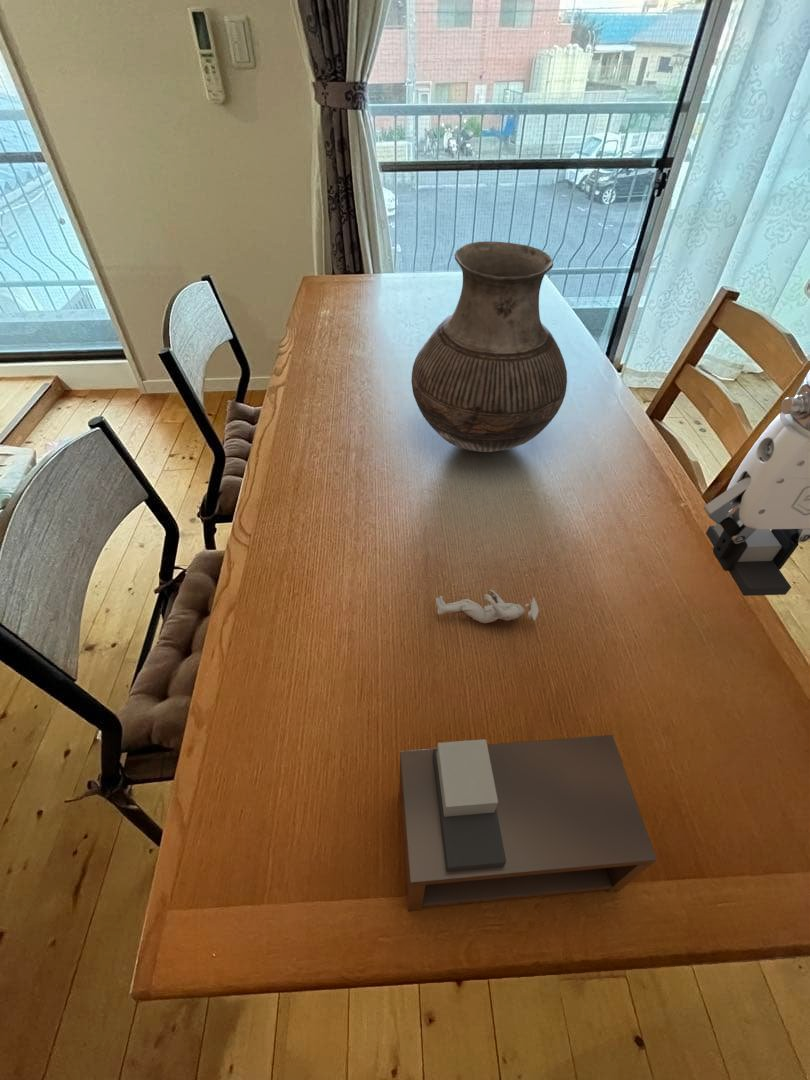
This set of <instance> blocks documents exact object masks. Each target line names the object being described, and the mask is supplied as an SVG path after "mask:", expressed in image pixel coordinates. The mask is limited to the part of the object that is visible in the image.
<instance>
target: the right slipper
mask: <svg viewBox="0 0 810 1080" xmlns="http://www.w3.org/2000/svg"><path fill="white" fill-rule="evenodd" d="M737 523H738V524H739V526H740V527H741V526H742V524H743V522H742V521H741V519H740V520H739V521H738V522H737ZM723 531H724V529H723V527H722V526H721V525H720V524H718V523H716V524H715V525H709V527H708V528H707V530H706V532H705V535H706V536H707V538H708V540H709V541H710V543H711V544H712V545H711V546H713V547H714V546H715V544H716V542H717V541H718V539H719V537H720V536H721V534H722V532H723ZM745 541H746V543H747V548H746V550H745V551H744V553H743V554H742V556H741V557H740V559H739V560H738V562H737V563H736V565H735V566H734V568H733V569H732V570H731V571H728V573H729V575H730V576H731V578H732V579H733V581H734V582H735V584H736V586H737V588H738V589H739V591H740V592H741V594H742V596H743V597H750V596H751V597H752V596H753V597H754V596H785V595H787V594H788V593H789V592H790V590H791V589H792V586H791V585H790V583H789V582H788V580H787V579H786V577H785V576H784V574H783V572H782V571H781V569H780V570H779V569H778V567H777V566H776V564H775V563H774V562H773V559H774V557H775V556H776V554H777V553H778V552H779V550H780V549H781V547H782V546H781V545H780V543H779V542H778V540H777V539H776V538H775V536H774V535H773V533H772V532H771V529H756V530H755V531H754V532H753V533H752V534H751V535H750V536H749V537H748V538H747V539H746V540H745Z"/></svg>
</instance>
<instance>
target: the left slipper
mask: <svg viewBox="0 0 810 1080" xmlns="http://www.w3.org/2000/svg"><path fill="white" fill-rule="evenodd" d="M487 745H488V742H487V739H486V738H485V739H471V740H458V741H446V742H438V743H437V745H436V746H437V747H436V748H437V749H436V748H432V749H433V761H434V770H435V778H436V786H437V795H438V803H439V811H440V820H441V828H442V836H443V845H444V853H445V862H446V870H447V871H448V872H450V871H461V870H471V869H482V868H493V867H503V866H504V865H505V863H506V858H505V853H504V848H503V842H502V837H501V832H500V826H499V821H498V815H497V810H496V807H497V804H498V799H497V794H496V788H495V783H494V778H493V773H492V767H491V762H490V757H489V752H488V746H487Z"/></svg>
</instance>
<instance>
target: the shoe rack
mask: <svg viewBox="0 0 810 1080" xmlns="http://www.w3.org/2000/svg"><path fill="white" fill-rule="evenodd" d="M487 746H488V752H489V757H490V762H491V767H492V773H493V778H494V783H495V788H496V794H497V799H498V804H497V807H496V810H497V815H498V821H499V826H500V832H501V837H502V842H503V848H504V853H505V858H506V863H505V865H504V866H503V867H493V868H482V869H471V870H461V871H450V872H448V871H447V870H446V862H445V853H444V845H443V836H442V828H441V820H440V811H439V803H438V795H437V786H436V778H435V770H434V761H433V749H434V748H424V749H411V750H400V751H399V791H398V792H399V806H400V807H399V810H400V820H401V822H400V823H401V835H402V850H403V861H404V874H405V875H404V876H405V890H406V902H407V904H406V905H407V912H417V911H418V912H419V911H422V909H423V908H428V907H438V906H449V905H450V906H451V905H459V904H469V903H478V902H491V901H500V900H501V901H502V900H510V899H511V900H512V899H521V898H522V899H523V898H531V897H543V896H551V895H552V896H553V895H563V894H574V893H575V894H576V893H584V892H593V891H594V892H596V891H603V890H604V891H606V893H614V892H620V891H621V890H623V889H624V888H625V887H626V886H627V885H629V883H632V881H633V880H634V879H636V878H637V877H638V876H640V875H641V874H642V873H643V872H644V871H646V870H647V869H648V868H649V867H650V866H652V865H653V864H654V863H655V862H657V860H658V858H657V856H656V854H655V851H654V847H653V845H652V841H651V839H650V836H649V833H648V831H647V828H646V824H645V822H644V819H643V816H642V814H641V810H640V808H639V805H638V802H637V799H636V797H635V794H634V791H633V788H632V786H631V783H630V780H629V777H628V775H627V772H626V768H625V766H624V763H623V761H622V757H621V755H620V751H619V749H618V746H617V743H616V740H615V738H614V735H613V734H605V735H594V736H593V735H591V736H579V737H568V738H554V739H542V740H540V739H539V740H528V741H527V740H526V741H516V742H514V741H513V742H502V743H489V744H488V743H487ZM435 749H437V747H436V748H435Z"/></svg>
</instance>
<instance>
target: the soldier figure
mask: <svg viewBox="0 0 810 1080" xmlns="http://www.w3.org/2000/svg"><path fill="white" fill-rule="evenodd" d="M489 592H491V593H493V594H491V595H490V594H488V593H485V594H484V600H487V601H488V602H489V603H490V604H487V605H483V607H484V608H483V607H482V606H481V605H480V604H479V603H477V602H476V601H474V600H471V599H469V598H465V599H464V598H463V599H460V600H457V601H454V602H449V603H447V602H445V601H444V597H443V595H439V597H436V599H435V606H436V607H437V615H438V616H440V615H444V614H453V613H459V612H463V613H464V614H465V615H466V616H468V617H470V618H472V619H473V620H474V621H477V622H479V623H482V624H487V623H493V622H496V621H497V620H498V619H499V620H502V621H507V622H508V621H510V620H511V621H512V620H517V619H518V618H519V617H521V616H523V614H525V618H526V619H527V620H531V619H532V620H533V622H536V620H537V618H538V616H539V613H540V608H539V605H538V603H537V600H536V599H535V597H533V598H532V600H531V603H525V608H524V607H523V606H522V604H520V603H513V602H505V601H504V600H503V598H501V596H500V595H499V594H498V593H497V592H496V591H495V590H493V589H489ZM493 597H494V598H496V601H495V600H494V598H493ZM527 607H529V611H528V612H526V608H527ZM527 614H528V616H527Z"/></svg>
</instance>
